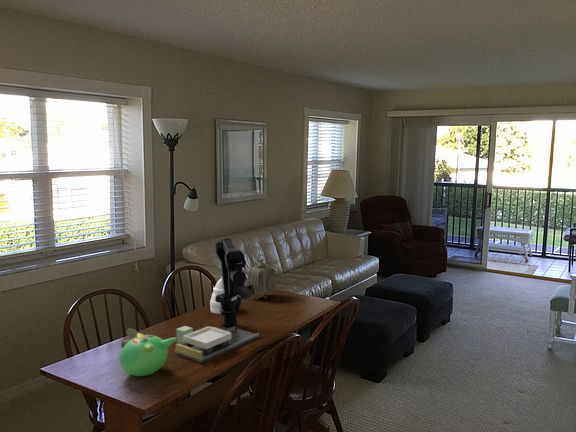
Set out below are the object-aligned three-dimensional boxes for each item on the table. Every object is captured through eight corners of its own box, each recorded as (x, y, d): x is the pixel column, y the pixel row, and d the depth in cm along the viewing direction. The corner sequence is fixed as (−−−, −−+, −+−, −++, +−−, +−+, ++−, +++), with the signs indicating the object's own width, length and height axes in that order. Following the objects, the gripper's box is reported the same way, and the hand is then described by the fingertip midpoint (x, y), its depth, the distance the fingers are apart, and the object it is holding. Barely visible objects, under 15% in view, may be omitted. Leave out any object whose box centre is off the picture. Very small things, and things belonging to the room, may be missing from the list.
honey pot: (240, 310, 257) (238, 276, 255) (218, 315, 249) (217, 280, 247) (226, 304, 267) (225, 272, 265) (206, 309, 259) (204, 276, 257)
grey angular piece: (128, 352, 200) (121, 328, 203) (121, 356, 204) (113, 334, 206) (146, 346, 207) (139, 324, 210) (138, 351, 211) (131, 329, 213)
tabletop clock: (264, 293, 286) (263, 251, 283) (276, 296, 281) (275, 253, 278) (248, 300, 275) (247, 255, 272) (261, 302, 269) (259, 257, 266)
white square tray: (183, 348, 204) (183, 335, 203) (210, 337, 215) (210, 325, 215) (206, 356, 195) (206, 343, 194) (233, 344, 207) (233, 332, 206)
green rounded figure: (144, 360, 195) (141, 324, 194) (179, 366, 189) (177, 329, 187) (111, 379, 179) (109, 340, 177) (149, 387, 173) (147, 346, 171)
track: (175, 353, 202) (174, 344, 201) (234, 329, 228) (233, 321, 227) (201, 363, 192) (200, 353, 191) (259, 337, 218) (259, 328, 218)
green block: (176, 342, 214) (176, 328, 213) (185, 338, 218) (185, 325, 217) (184, 344, 211) (183, 331, 210) (193, 341, 215) (192, 328, 214)
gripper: (232, 286, 203) (233, 323, 205) (262, 277, 217) (263, 311, 219) (214, 282, 210) (215, 318, 212) (244, 273, 224) (245, 307, 226)
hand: (236, 313), depth 217 cm, fingers closed
